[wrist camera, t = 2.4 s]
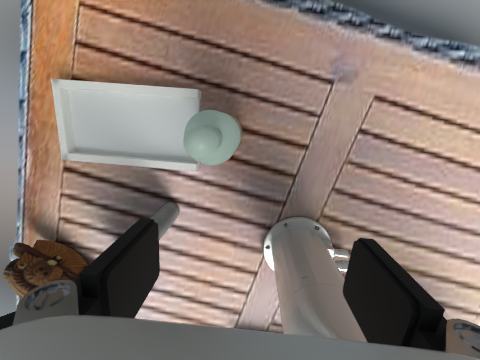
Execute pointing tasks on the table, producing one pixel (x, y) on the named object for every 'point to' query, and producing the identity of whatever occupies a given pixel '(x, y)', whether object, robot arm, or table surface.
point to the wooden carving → (42, 265)
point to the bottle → (212, 136)
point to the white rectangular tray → (124, 123)
